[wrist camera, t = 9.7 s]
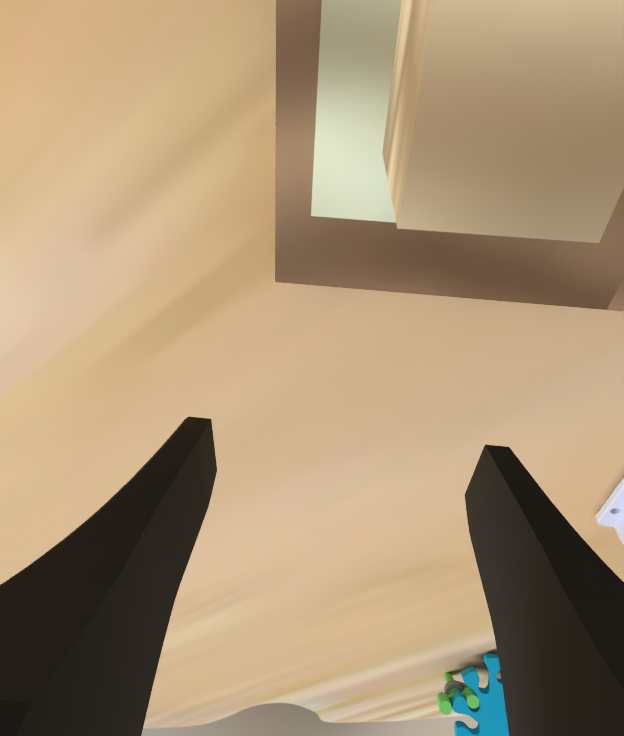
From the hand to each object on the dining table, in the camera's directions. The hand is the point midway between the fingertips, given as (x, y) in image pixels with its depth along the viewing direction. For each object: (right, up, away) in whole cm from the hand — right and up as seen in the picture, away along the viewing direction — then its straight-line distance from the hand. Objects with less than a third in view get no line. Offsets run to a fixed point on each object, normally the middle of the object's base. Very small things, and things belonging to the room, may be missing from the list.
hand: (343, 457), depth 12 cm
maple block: (+4, +11, +1) cm, 11 cm away
